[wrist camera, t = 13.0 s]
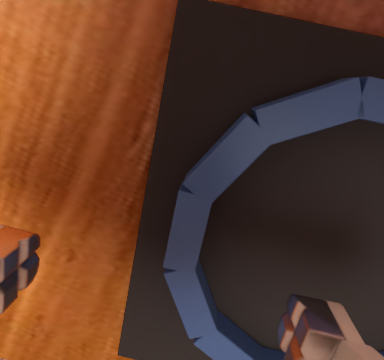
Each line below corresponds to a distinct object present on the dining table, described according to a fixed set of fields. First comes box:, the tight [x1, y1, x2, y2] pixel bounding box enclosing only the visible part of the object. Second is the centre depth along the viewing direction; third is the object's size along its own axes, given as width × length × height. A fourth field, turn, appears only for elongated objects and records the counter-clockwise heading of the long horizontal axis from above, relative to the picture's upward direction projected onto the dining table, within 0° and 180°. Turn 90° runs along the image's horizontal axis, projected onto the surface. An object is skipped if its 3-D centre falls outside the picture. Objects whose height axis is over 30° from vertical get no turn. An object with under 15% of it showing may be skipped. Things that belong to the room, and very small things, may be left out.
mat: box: [118, 0, 384, 360], centre depth 16 cm, size 20×20×1 cm
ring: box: [163, 76, 384, 360], centre depth 15 cm, size 17×17×2 cm
